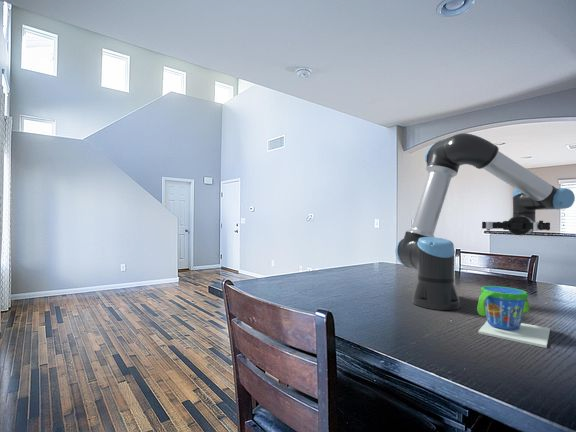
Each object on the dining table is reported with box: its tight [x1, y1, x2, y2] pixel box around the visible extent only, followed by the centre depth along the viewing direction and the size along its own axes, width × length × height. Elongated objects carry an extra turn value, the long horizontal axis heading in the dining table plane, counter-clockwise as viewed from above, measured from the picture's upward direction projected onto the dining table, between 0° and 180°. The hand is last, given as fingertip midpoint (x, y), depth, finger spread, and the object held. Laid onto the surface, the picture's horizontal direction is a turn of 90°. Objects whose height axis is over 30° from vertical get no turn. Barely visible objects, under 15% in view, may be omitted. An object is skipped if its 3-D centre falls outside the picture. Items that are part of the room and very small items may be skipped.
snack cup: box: [476, 285, 530, 330], centre depth 88 cm, size 16×10×10 cm
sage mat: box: [477, 320, 551, 349], centre depth 85 cm, size 16×14×1 cm
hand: (509, 226), depth 109 cm, fingers open, 13 cm apart
